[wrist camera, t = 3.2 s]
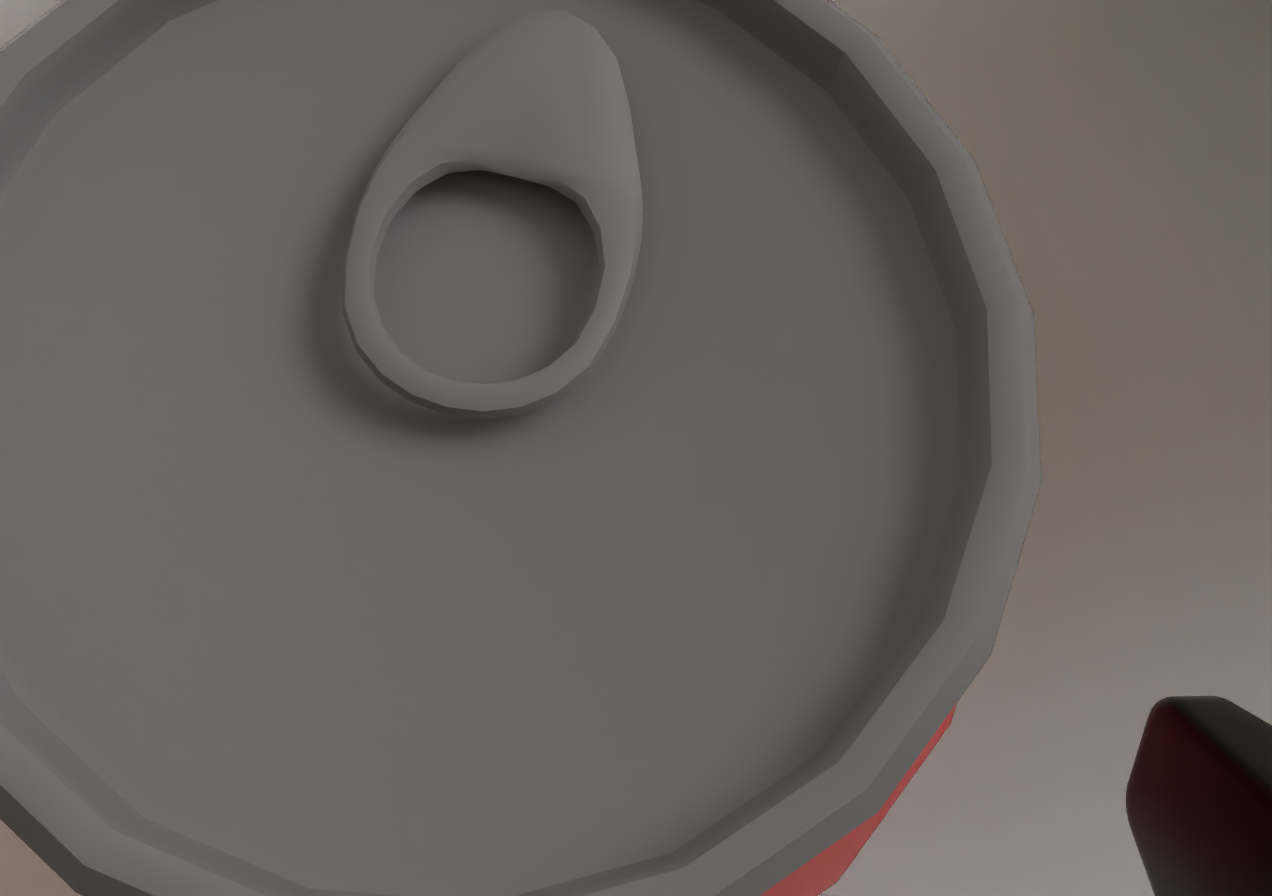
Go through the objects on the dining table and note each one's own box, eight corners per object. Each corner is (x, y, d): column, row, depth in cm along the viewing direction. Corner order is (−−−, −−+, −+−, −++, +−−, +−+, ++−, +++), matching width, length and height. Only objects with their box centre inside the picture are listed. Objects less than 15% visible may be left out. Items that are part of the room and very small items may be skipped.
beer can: (776, 505, 18) (1203, -59, 6) (688, 963, 16) (1089, 1331, 4) (356, 404, 18) (38, -344, 6) (212, 850, 16) (-649, 924, 4)
